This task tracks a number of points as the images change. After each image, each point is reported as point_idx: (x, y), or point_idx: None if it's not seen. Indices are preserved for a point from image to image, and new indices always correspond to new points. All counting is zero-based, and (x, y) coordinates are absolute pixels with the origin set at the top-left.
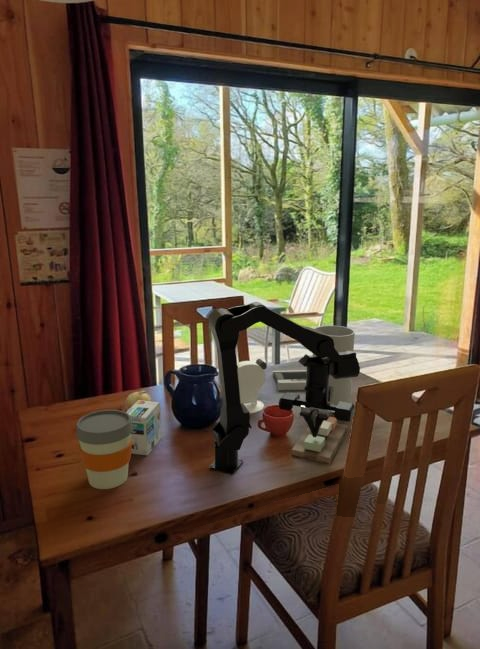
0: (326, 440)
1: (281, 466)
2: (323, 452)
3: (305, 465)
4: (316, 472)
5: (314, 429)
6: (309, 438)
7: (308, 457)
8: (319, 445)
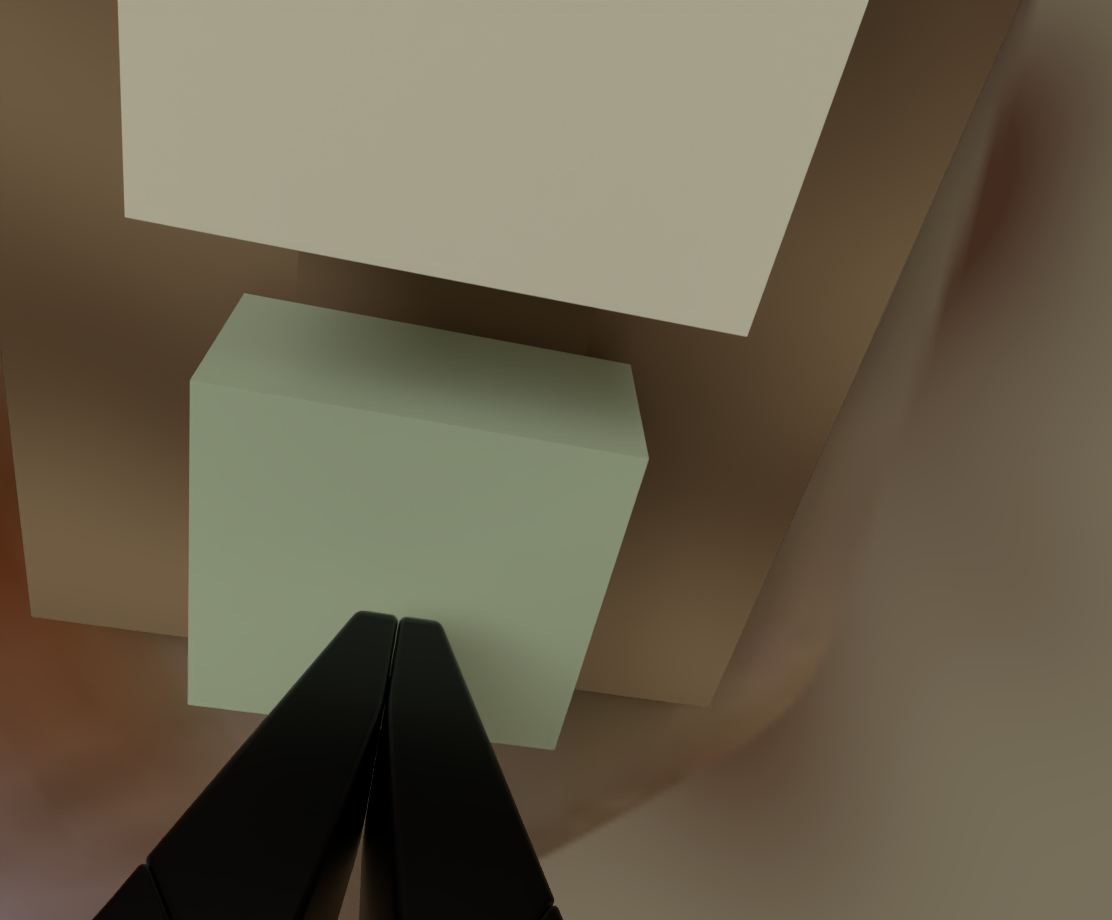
0: None
1: (71, 804)
2: (608, 593)
3: None
4: (529, 822)
5: (344, 874)
6: (266, 571)
7: None
8: (533, 740)
